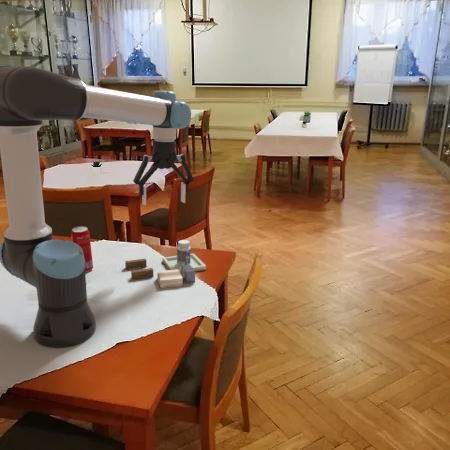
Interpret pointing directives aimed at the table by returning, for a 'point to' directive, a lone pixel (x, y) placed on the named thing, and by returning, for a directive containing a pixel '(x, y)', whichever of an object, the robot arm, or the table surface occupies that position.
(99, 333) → the table surface
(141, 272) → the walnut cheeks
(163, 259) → the tray
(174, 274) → the beige grooved block
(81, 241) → the beverage can
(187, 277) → the bench dog
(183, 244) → the pill bottle
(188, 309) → the table surface
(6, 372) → the table surface
